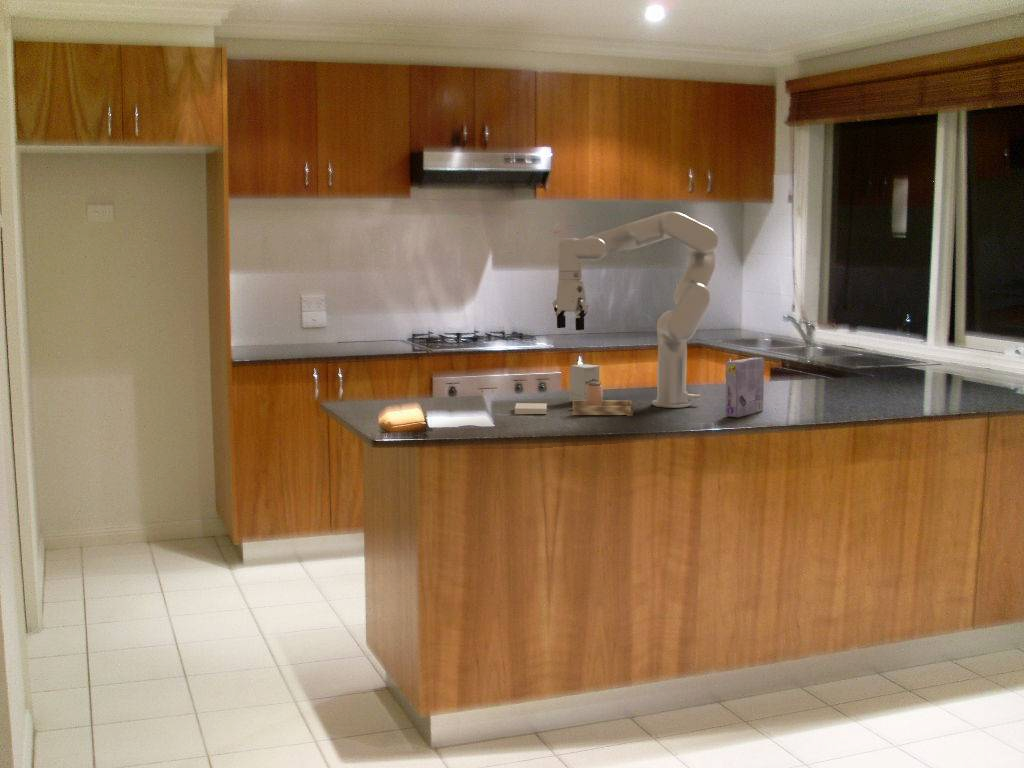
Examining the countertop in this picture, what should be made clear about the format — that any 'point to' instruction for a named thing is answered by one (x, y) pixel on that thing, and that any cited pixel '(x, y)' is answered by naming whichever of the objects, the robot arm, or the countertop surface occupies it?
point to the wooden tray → (603, 408)
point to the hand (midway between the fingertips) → (570, 328)
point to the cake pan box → (744, 387)
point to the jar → (594, 394)
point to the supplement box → (582, 380)
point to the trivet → (530, 408)
